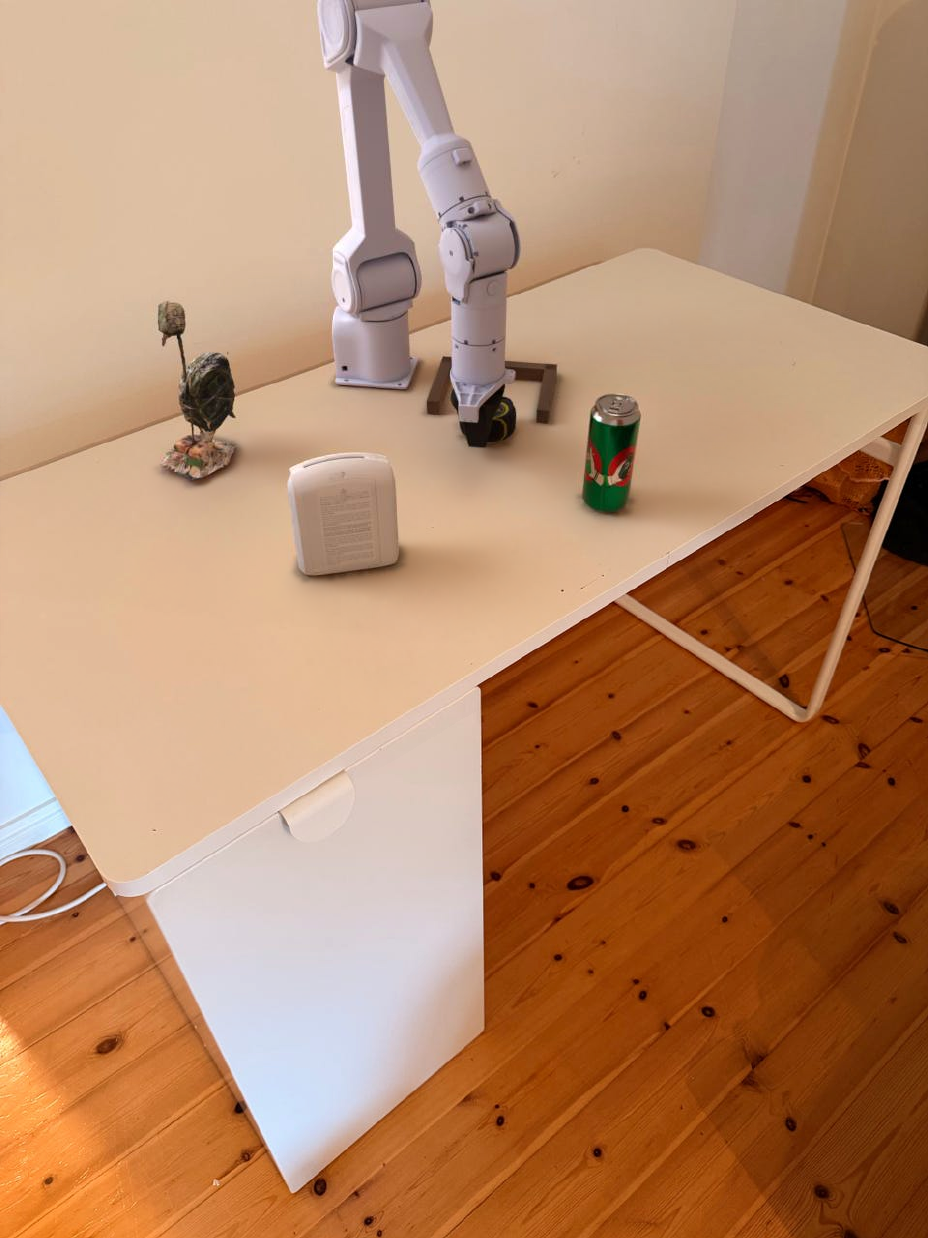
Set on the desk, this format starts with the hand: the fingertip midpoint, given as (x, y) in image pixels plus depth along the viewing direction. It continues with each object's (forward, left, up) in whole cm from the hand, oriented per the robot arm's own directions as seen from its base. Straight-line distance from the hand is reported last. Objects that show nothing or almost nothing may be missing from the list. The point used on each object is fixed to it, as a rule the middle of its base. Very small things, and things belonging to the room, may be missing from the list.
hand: (477, 444), depth 107 cm
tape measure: (0, +5, -2) cm, 5 cm away
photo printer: (-10, -21, -2) cm, 23 cm away
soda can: (+15, -7, -2) cm, 17 cm away
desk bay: (0, +13, -1) cm, 13 cm away
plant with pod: (-31, -5, -2) cm, 31 cm away
